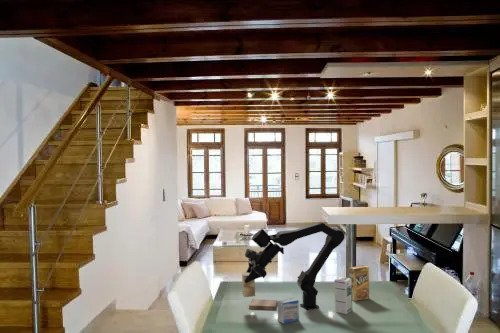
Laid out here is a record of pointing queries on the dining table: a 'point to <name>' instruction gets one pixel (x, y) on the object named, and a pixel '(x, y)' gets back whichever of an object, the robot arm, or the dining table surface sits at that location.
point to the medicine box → (288, 310)
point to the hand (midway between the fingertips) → (244, 280)
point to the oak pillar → (248, 286)
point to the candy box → (359, 282)
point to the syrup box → (343, 295)
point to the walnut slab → (263, 304)
